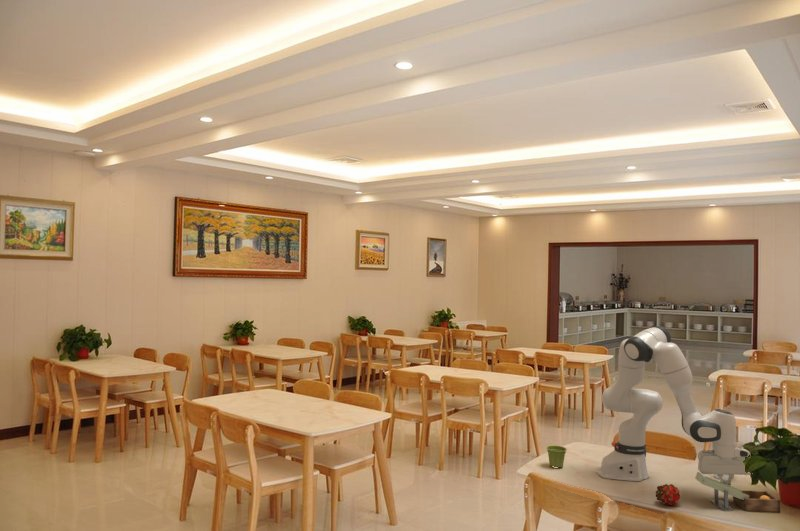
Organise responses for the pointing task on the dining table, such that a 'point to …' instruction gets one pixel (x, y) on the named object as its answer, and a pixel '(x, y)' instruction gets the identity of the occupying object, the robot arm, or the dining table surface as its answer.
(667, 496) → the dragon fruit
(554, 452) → the plant pot
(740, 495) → the lever
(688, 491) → the dining table surface
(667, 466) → the dining table surface
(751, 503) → the tray
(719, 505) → the fulcrum
